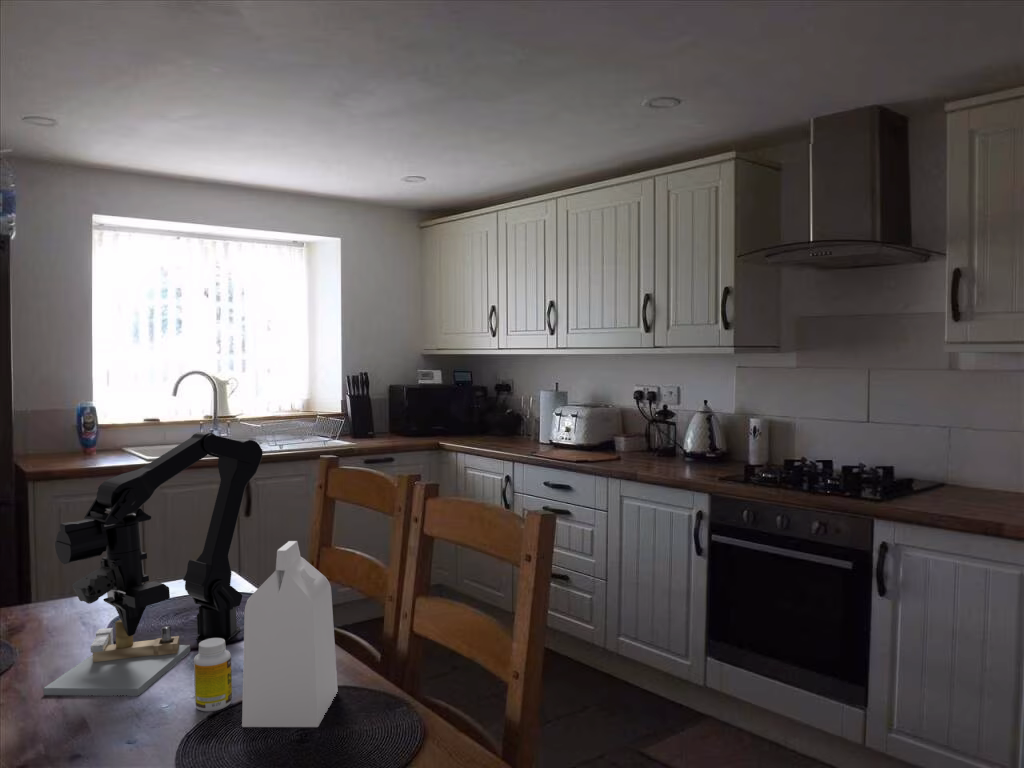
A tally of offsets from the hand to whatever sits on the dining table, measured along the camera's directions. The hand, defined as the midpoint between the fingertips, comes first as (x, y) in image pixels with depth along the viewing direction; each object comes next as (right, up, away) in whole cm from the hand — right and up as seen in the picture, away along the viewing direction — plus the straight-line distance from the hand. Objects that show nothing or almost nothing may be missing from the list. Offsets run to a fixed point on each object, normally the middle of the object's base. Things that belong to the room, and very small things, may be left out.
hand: (131, 635), depth 143 cm
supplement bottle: (+21, -6, -16) cm, 27 cm away
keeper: (-6, -4, +2) cm, 8 cm away
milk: (+34, -6, -18) cm, 39 cm away
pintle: (+5, -4, +4) cm, 7 cm away
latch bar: (0, -4, +2) cm, 5 cm away
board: (-1, -6, -2) cm, 6 cm away
